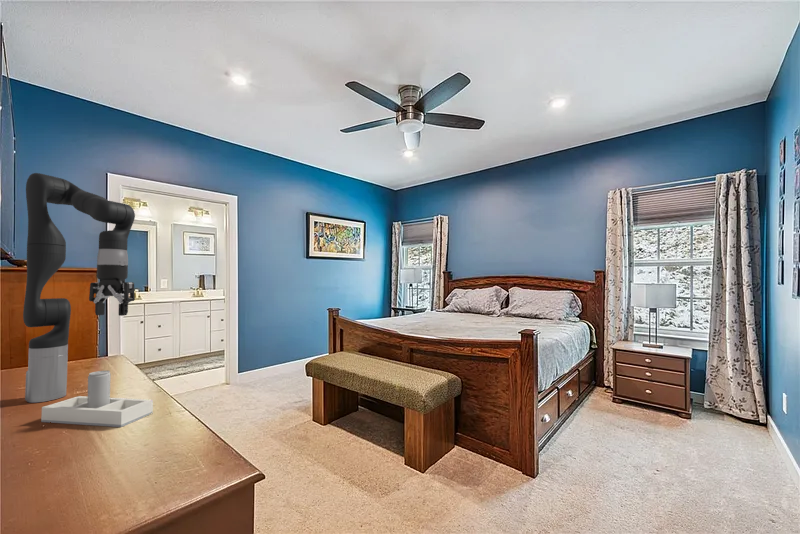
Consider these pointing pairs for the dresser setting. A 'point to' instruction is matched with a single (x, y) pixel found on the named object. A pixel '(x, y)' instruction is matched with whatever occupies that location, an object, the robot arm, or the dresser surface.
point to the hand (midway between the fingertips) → (111, 315)
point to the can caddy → (97, 412)
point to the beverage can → (98, 389)
